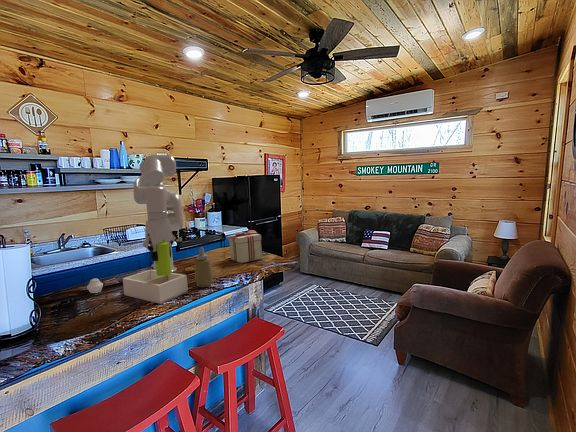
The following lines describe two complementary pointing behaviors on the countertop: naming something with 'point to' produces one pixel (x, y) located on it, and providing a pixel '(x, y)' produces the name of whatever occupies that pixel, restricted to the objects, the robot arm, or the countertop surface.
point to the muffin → (95, 286)
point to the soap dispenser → (163, 259)
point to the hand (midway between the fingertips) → (161, 258)
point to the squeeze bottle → (203, 270)
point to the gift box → (245, 246)
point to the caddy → (155, 286)
